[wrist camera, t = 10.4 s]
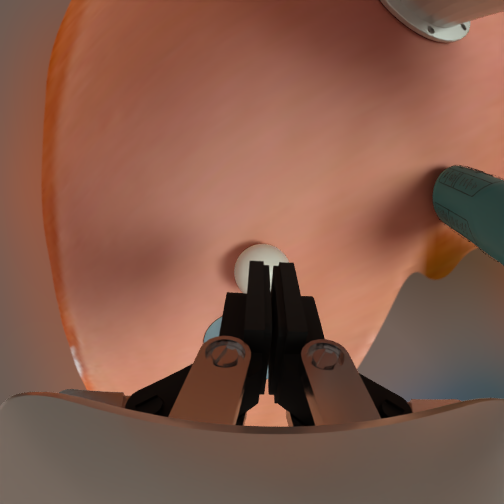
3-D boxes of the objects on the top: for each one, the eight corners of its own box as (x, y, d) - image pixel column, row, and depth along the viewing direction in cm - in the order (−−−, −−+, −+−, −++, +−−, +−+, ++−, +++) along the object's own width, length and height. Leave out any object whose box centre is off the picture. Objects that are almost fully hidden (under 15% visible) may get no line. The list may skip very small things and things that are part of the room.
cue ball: (233, 276, 21) (233, 310, 25) (298, 277, 21) (289, 310, 25) (234, 231, 25) (234, 268, 28) (291, 232, 25) (284, 268, 28)
